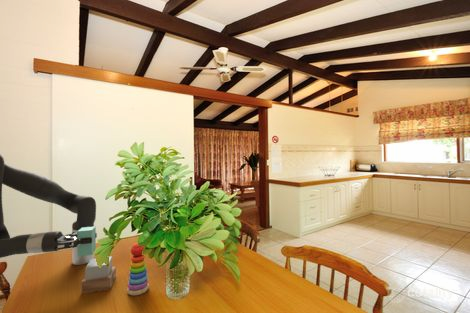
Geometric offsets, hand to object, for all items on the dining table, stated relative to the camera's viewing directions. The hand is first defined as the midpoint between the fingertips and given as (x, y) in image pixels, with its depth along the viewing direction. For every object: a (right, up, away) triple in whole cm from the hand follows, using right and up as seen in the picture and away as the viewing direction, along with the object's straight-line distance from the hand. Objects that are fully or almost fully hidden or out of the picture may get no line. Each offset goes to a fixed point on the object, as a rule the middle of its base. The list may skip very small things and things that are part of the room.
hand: (94, 237), depth 94 cm
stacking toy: (+20, -20, -3) cm, 28 cm away
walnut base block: (+2, -20, +1) cm, 20 cm away
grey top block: (+2, -15, +1) cm, 15 cm away
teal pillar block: (-3, -6, -1) cm, 7 cm away
